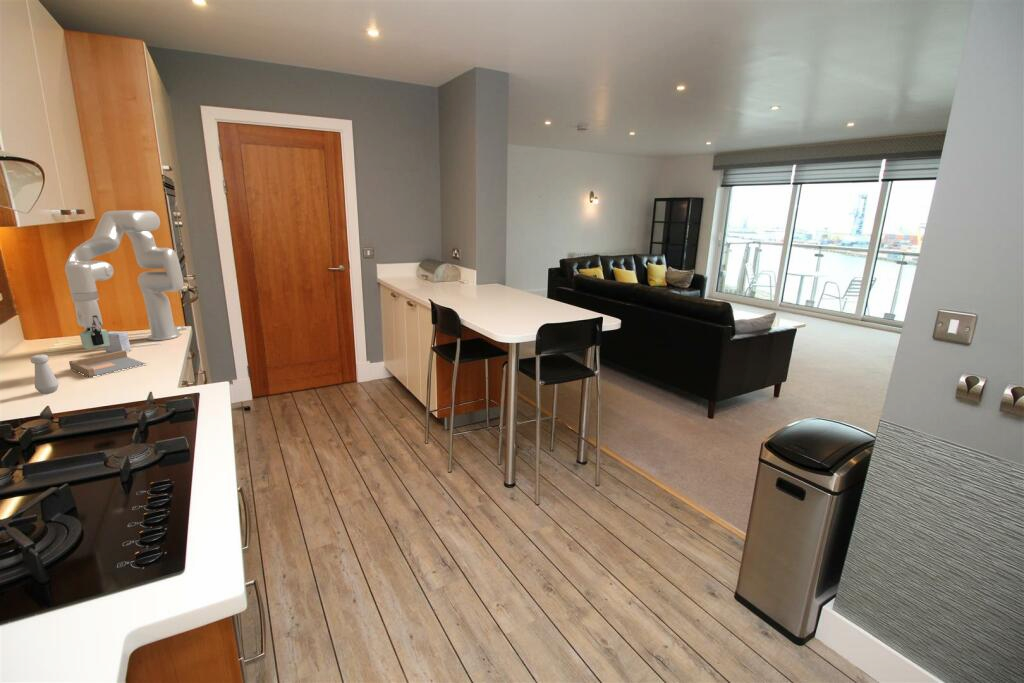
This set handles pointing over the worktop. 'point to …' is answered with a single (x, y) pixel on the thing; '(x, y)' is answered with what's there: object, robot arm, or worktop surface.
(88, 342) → the green block
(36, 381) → the salt shaker
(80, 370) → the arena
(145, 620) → the worktop surface
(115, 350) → the medicine box
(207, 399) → the worktop surface
